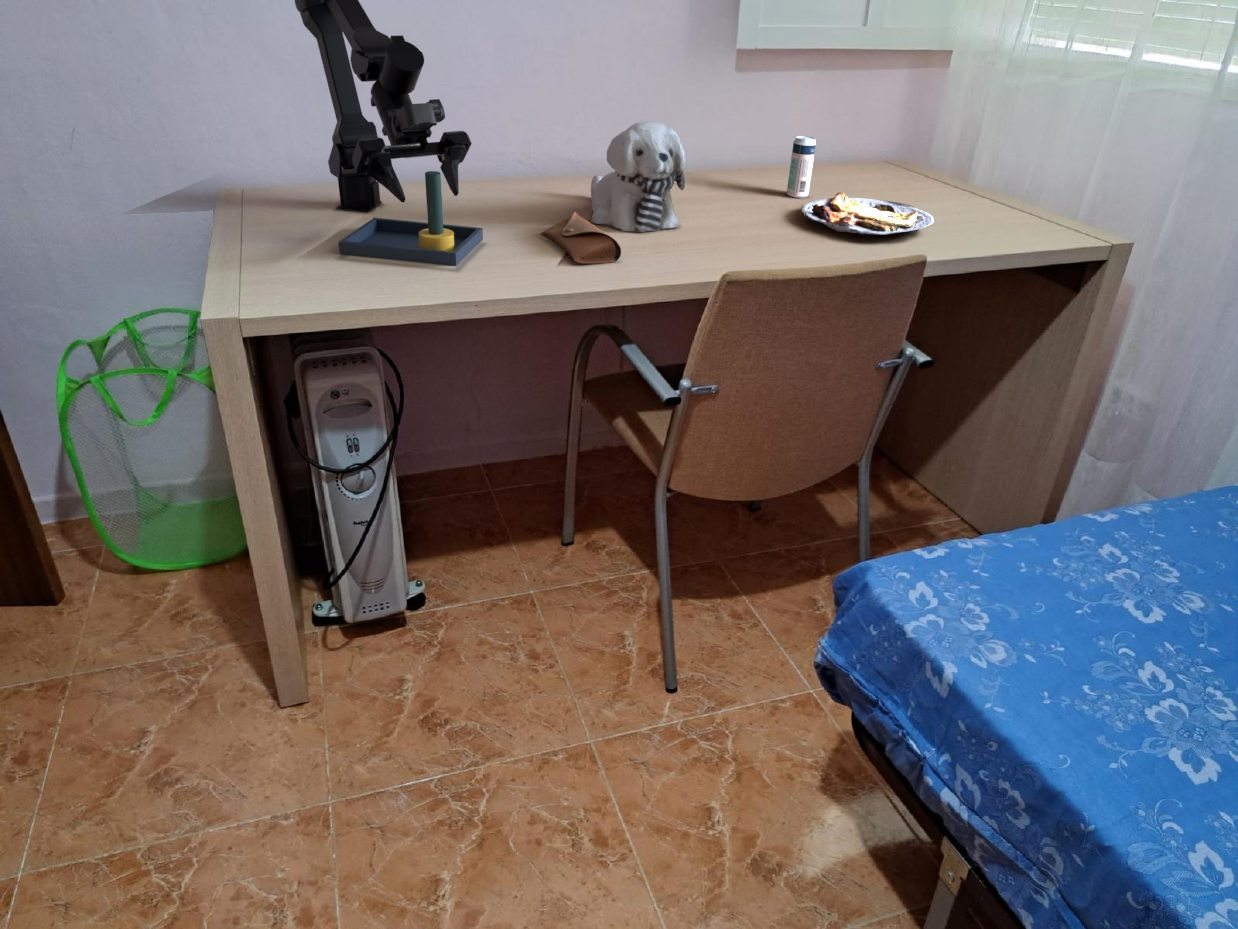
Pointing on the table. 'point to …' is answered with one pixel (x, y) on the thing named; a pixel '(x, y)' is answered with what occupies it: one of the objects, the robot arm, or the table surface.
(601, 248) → the sunglasses case
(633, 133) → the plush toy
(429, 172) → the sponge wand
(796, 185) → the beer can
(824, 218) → the food plate
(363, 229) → the tray
